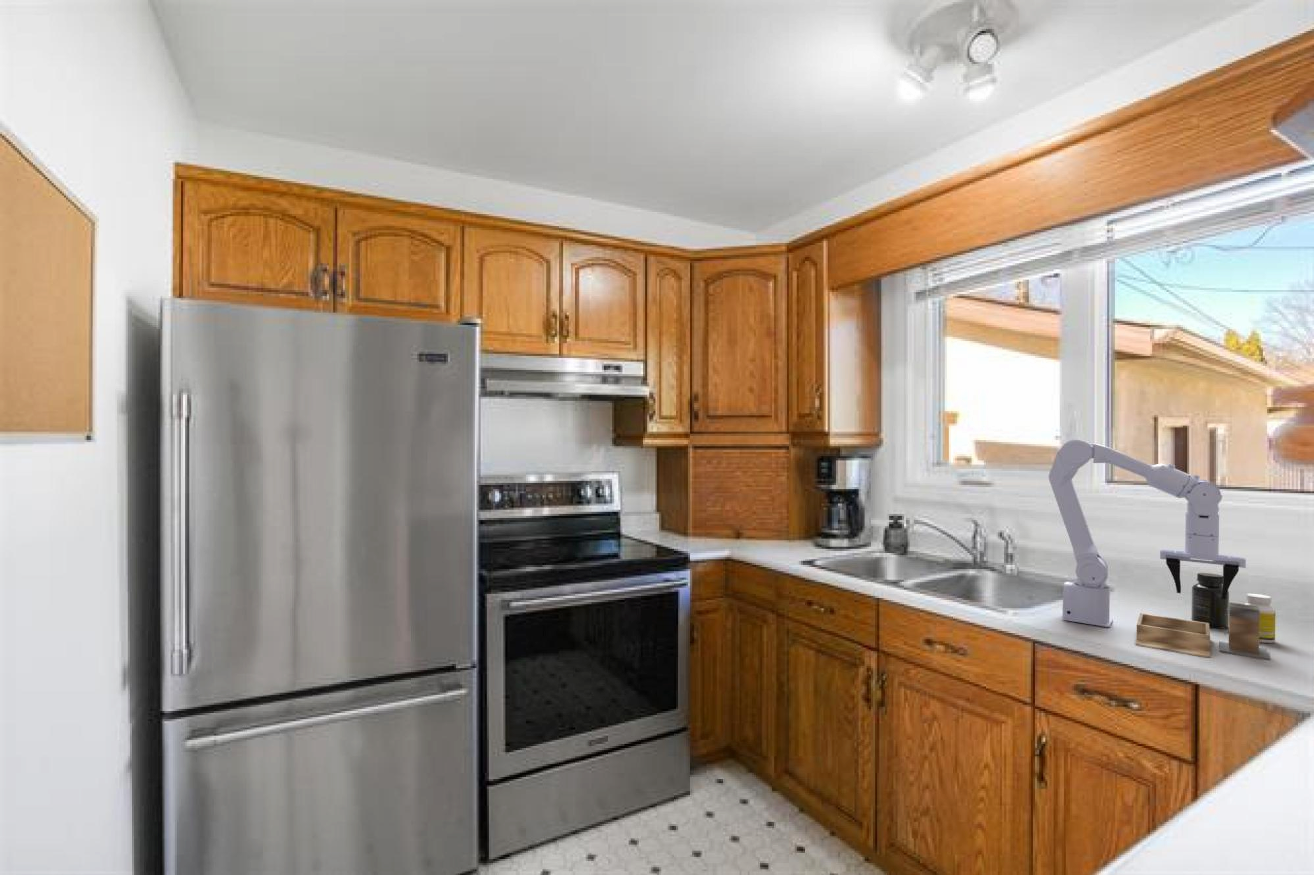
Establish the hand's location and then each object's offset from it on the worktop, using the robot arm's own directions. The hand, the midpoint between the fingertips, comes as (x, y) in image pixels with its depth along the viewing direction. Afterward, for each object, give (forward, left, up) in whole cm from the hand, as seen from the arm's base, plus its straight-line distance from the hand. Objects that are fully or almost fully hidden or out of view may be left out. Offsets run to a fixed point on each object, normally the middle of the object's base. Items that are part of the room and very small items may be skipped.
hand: (1200, 595), depth 144 cm
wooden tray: (-5, -7, -9) cm, 12 cm away
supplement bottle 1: (+2, +14, -10) cm, 17 cm away
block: (+7, -7, -9) cm, 13 cm away
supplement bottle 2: (+10, +6, -10) cm, 15 cm away
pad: (+7, -7, -9) cm, 13 cm away
